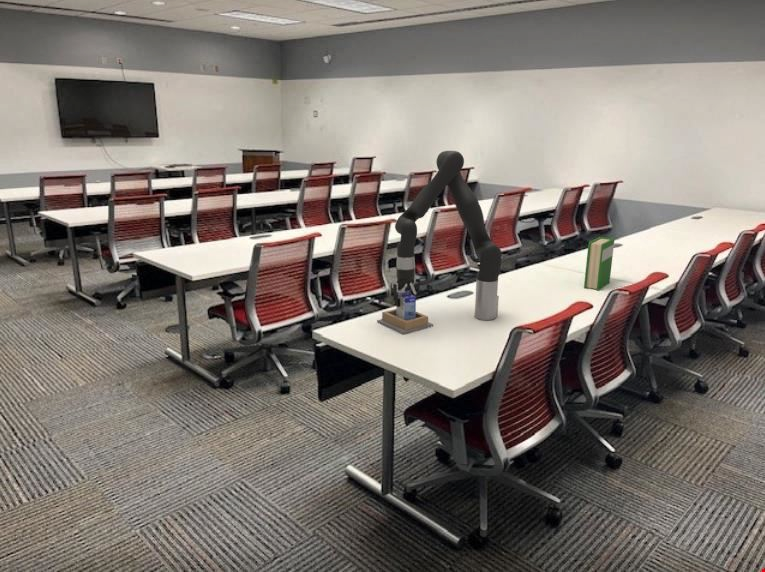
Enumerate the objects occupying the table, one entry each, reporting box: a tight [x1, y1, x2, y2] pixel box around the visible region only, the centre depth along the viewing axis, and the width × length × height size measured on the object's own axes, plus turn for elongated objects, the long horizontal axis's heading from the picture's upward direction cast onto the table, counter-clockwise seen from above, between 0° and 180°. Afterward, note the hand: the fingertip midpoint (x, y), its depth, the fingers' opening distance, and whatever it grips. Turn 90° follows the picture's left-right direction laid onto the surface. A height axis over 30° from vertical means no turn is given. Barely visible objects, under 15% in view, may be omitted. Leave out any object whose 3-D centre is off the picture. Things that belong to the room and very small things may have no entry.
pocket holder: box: [376, 308, 434, 335], centre depth 242 cm, size 16×18×4 cm
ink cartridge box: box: [395, 290, 417, 321], centre depth 240 cm, size 10×6×14 cm, turn 19°
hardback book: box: [583, 236, 616, 292], centre depth 294 cm, size 18×7×24 cm, turn 142°
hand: (405, 304), depth 240 cm, fingers open, 7 cm apart
